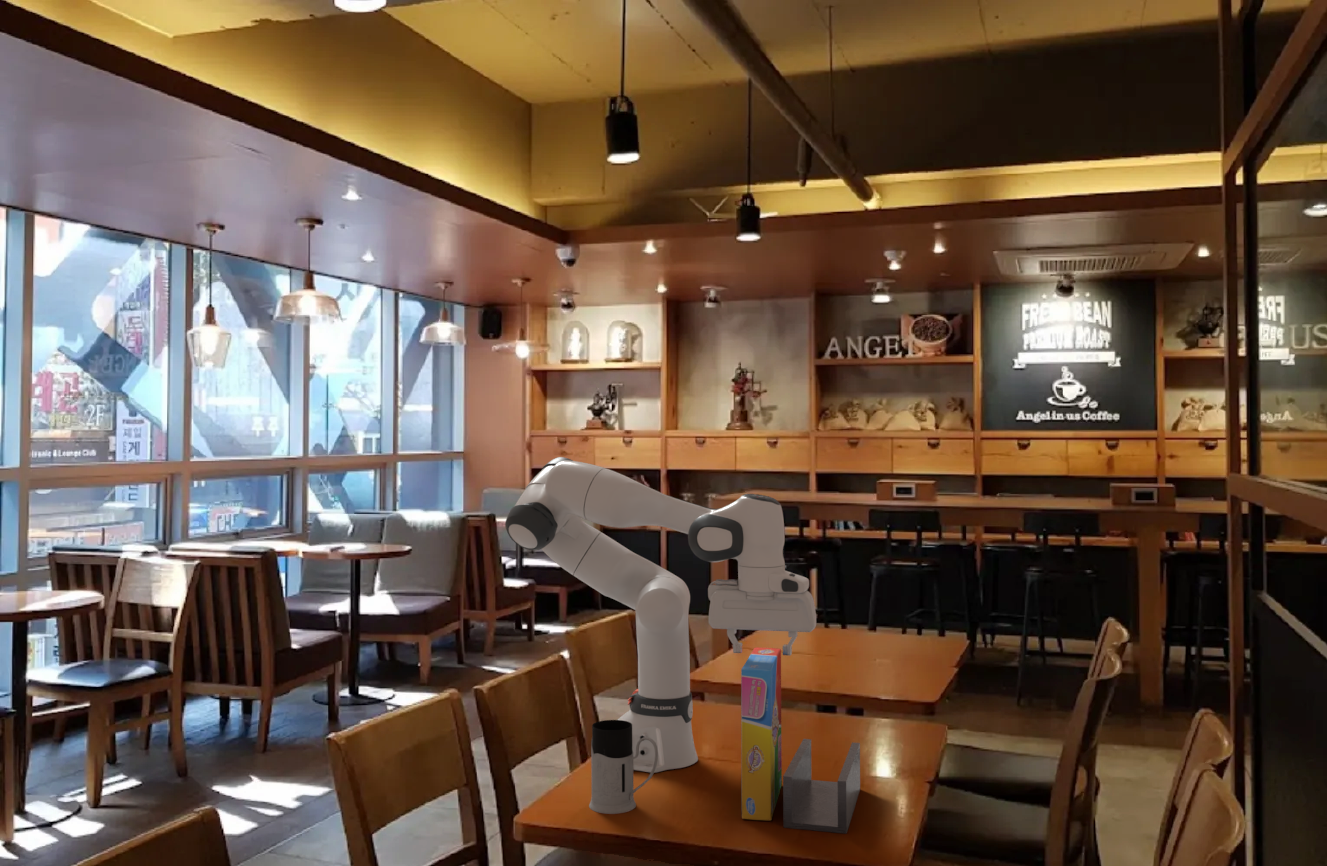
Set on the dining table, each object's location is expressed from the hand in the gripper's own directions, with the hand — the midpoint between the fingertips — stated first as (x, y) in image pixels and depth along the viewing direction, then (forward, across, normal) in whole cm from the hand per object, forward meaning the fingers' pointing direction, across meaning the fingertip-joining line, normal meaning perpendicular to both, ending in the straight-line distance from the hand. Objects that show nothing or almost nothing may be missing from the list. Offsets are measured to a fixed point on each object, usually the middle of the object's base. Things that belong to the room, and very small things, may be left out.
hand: (762, 653), depth 199 cm
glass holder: (+28, -24, -10) cm, 38 cm away
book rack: (+28, +11, 0) cm, 30 cm away
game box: (+28, 0, 0) cm, 28 cm away
